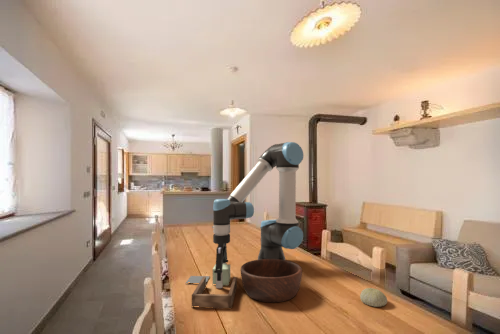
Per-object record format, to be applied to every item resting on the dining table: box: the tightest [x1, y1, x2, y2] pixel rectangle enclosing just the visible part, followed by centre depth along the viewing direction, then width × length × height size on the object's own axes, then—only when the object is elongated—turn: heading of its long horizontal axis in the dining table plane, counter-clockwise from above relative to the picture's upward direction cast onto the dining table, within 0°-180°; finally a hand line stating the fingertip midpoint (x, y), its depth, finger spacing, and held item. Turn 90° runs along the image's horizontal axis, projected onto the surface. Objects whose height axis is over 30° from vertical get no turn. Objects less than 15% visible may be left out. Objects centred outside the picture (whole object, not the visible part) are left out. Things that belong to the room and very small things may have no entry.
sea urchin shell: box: [359, 287, 388, 308], centre depth 108 cm, size 9×8×8 cm
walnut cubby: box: [191, 276, 238, 309], centre depth 113 cm, size 14×19×4 cm
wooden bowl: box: [240, 259, 303, 303], centre depth 118 cm, size 25×25×10 cm
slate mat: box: [185, 275, 211, 284], centre depth 131 cm, size 9×9×1 cm
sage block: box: [212, 263, 231, 286], centre depth 129 cm, size 7×7×7 cm
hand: (221, 282), depth 129 cm, fingers open, 12 cm apart
